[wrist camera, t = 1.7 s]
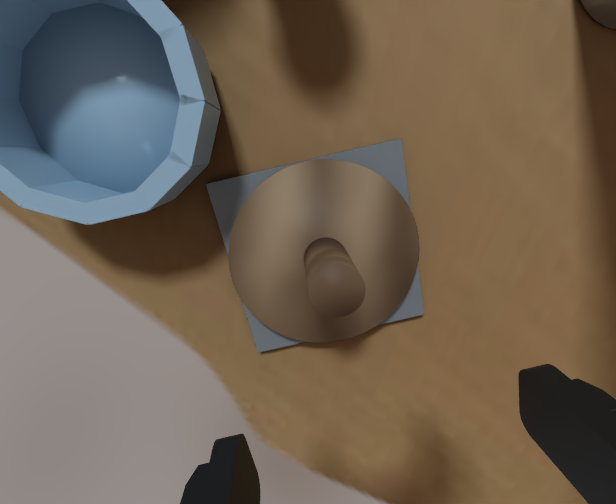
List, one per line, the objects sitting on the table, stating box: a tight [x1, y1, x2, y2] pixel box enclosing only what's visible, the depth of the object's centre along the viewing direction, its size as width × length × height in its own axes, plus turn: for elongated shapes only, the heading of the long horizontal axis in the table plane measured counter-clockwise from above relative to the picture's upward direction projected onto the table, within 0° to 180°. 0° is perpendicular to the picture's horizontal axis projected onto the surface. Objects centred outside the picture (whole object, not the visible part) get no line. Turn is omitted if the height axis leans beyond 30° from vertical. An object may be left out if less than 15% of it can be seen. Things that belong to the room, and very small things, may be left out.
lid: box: [228, 159, 419, 343], centre depth 22 cm, size 14×14×7 cm
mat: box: [206, 139, 424, 353], centre depth 26 cm, size 14×14×1 cm
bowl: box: [0, 0, 221, 225], centre depth 19 cm, size 13×13×6 cm
